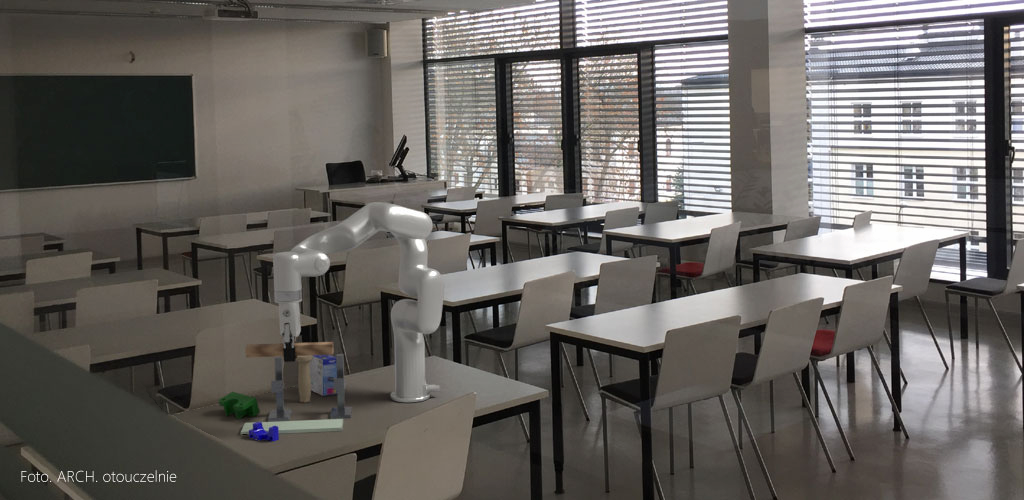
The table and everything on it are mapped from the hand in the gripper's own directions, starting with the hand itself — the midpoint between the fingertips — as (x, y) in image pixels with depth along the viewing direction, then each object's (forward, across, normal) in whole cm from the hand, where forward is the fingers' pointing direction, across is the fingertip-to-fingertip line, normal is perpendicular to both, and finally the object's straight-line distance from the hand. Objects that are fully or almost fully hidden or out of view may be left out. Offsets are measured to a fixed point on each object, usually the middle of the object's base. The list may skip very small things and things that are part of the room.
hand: (290, 359), depth 268 cm
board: (+21, 0, 0) cm, 21 cm away
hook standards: (+20, +11, -4) cm, 24 cm away
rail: (-1, 0, 0) cm, 1 cm away
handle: (+21, +26, -1) cm, 34 cm away
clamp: (+21, +15, +18) cm, 31 cm away
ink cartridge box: (+21, +36, -6) cm, 42 cm away
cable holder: (+21, -8, +7) cm, 23 cm away
